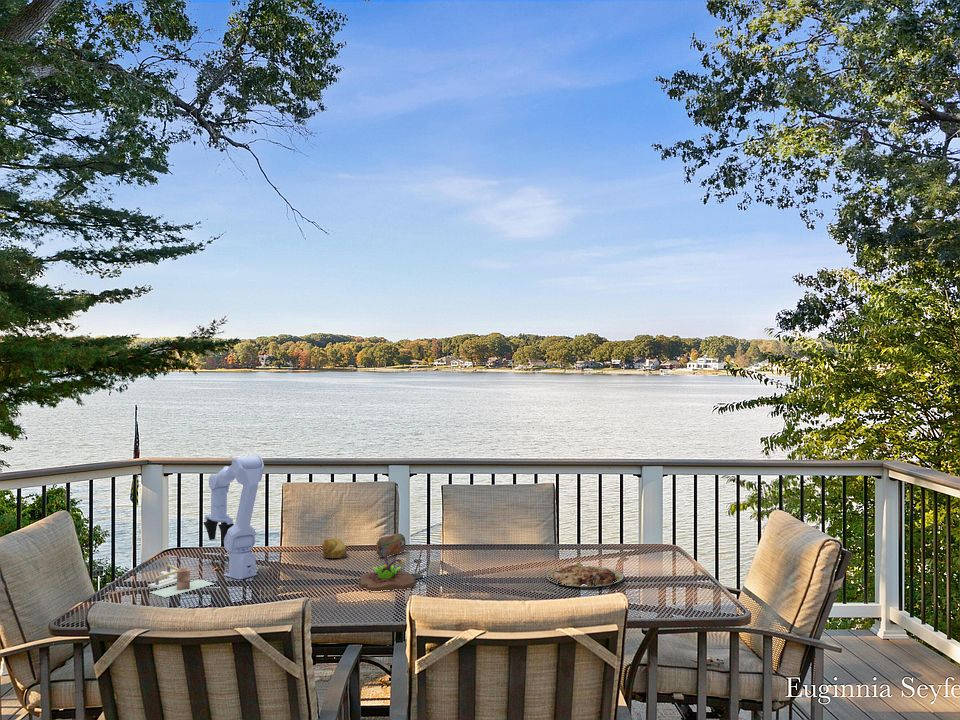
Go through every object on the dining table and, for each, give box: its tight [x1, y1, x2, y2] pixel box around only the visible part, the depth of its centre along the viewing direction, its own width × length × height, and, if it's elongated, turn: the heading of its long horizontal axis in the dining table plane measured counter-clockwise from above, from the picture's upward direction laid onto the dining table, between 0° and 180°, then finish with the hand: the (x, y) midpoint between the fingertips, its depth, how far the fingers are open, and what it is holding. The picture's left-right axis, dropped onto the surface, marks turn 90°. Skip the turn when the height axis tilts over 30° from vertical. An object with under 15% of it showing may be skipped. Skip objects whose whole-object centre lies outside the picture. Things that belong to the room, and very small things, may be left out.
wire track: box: [147, 563, 180, 590], centre depth 253 cm, size 17×17×4 cm
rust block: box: [176, 567, 191, 590], centre depth 243 cm, size 4×4×6 cm
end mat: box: [149, 579, 216, 599], centre depth 243 cm, size 9×19×1 cm, turn 146°
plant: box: [358, 552, 417, 591], centre depth 252 cm, size 20×20×11 cm
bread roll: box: [321, 537, 348, 560], centre depth 290 cm, size 13×10×8 cm
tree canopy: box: [375, 533, 407, 558], centre depth 293 cm, size 15×3×8 cm, turn 143°
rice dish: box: [545, 562, 625, 589], centre depth 259 cm, size 28×28×5 cm
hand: (218, 540), depth 274 cm, fingers open, 7 cm apart
